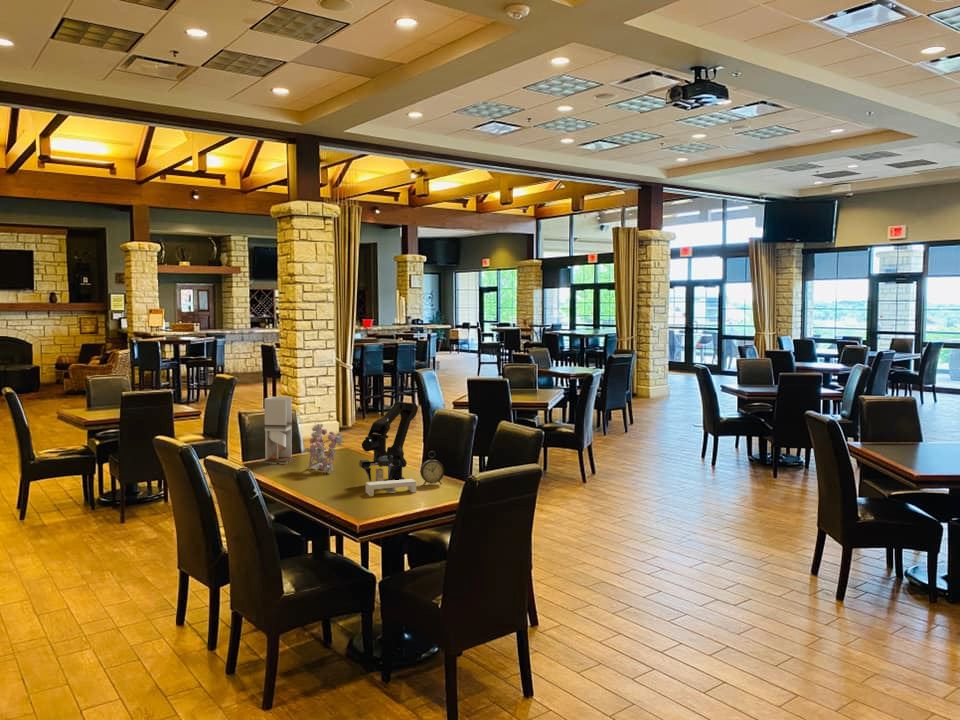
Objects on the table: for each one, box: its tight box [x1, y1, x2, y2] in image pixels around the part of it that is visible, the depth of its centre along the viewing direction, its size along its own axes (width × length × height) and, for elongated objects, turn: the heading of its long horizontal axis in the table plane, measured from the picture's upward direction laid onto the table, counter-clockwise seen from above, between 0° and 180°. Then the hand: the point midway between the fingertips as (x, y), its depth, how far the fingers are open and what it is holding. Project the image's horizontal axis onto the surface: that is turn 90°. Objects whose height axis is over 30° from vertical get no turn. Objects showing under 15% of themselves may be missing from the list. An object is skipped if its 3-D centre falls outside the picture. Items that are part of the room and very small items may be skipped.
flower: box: [300, 422, 345, 474], centre depth 381 cm, size 20×22×25 cm
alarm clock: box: [419, 450, 445, 486], centre depth 356 cm, size 11×5×16 cm, turn 105°
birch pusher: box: [375, 467, 394, 491], centre depth 351 cm, size 14×8×7 cm, turn 24°
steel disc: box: [385, 489, 397, 494], centre depth 339 cm, size 4×4×1 cm
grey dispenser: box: [264, 396, 293, 464], centre depth 401 cm, size 11×11×35 cm
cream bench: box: [365, 478, 417, 497], centre depth 338 cm, size 6×22×5 cm, turn 114°
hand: (379, 480), depth 356 cm, fingers open, 9 cm apart
